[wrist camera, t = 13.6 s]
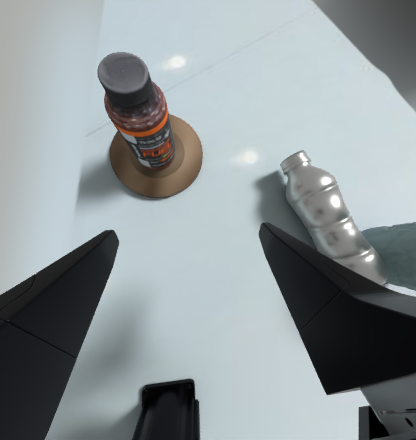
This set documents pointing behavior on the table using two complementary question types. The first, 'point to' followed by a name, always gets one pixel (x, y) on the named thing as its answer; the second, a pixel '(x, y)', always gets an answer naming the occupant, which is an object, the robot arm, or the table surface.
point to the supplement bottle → (137, 109)
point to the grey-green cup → (396, 252)
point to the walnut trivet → (162, 178)
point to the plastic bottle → (329, 218)
